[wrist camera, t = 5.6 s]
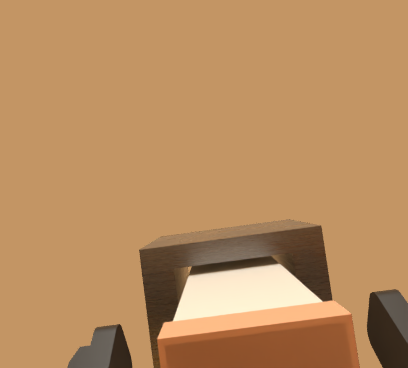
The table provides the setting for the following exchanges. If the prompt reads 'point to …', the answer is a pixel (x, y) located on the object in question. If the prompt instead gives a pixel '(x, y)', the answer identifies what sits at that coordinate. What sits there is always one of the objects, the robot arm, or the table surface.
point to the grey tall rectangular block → (222, 252)
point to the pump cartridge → (255, 321)
